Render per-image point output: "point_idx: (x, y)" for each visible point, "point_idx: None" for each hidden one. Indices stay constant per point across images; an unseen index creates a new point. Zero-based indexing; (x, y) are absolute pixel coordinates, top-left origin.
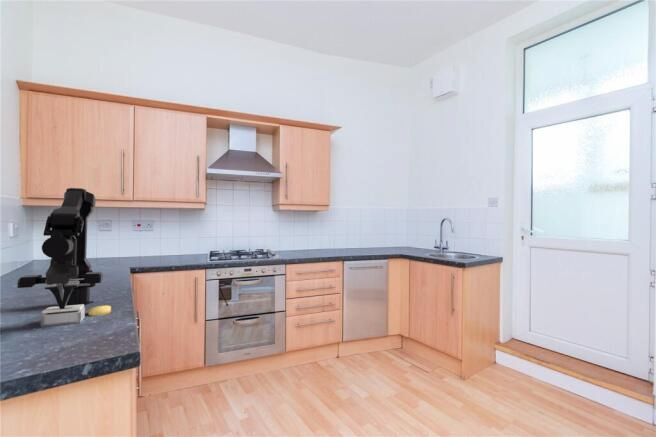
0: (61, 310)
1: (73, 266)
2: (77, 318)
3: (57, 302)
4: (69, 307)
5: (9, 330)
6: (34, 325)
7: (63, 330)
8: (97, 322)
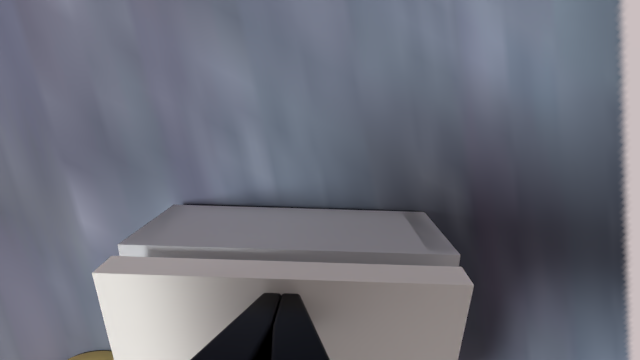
0: (282, 267)
1: None
2: (177, 220)
3: (324, 353)
4: None
5: (604, 238)
6: None
7: (253, 49)
8: (59, 178)
